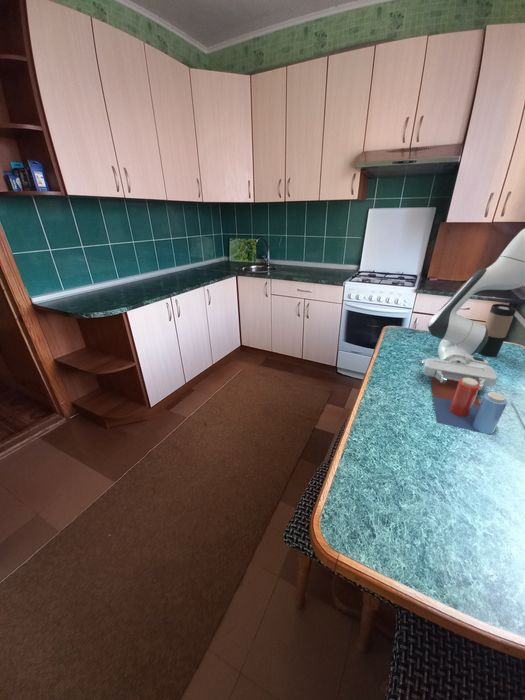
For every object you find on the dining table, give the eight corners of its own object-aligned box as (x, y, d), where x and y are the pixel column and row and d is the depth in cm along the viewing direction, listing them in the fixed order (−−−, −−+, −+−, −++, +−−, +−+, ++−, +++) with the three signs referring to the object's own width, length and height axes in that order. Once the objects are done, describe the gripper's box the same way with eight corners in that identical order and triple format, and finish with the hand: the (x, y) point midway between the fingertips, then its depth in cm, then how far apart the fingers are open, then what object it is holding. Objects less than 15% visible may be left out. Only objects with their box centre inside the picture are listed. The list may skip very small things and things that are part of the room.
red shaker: (467, 408, 88) (479, 378, 83) (470, 418, 84) (482, 387, 79) (448, 404, 89) (458, 374, 85) (450, 414, 85) (461, 383, 80)
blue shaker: (491, 424, 81) (505, 392, 76) (496, 436, 77) (511, 403, 72) (470, 419, 83) (483, 388, 78) (473, 431, 79) (487, 399, 74)
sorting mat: (472, 384, 100) (472, 383, 100) (490, 436, 78) (491, 435, 78) (429, 376, 105) (430, 375, 104) (436, 424, 83) (436, 422, 82)
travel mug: (472, 352, 120) (489, 306, 111) (479, 347, 125) (495, 302, 115) (494, 359, 115) (513, 311, 106) (500, 353, 119) (519, 307, 110)
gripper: (423, 350, 103) (425, 369, 92) (493, 361, 95) (504, 382, 84) (419, 365, 106) (421, 385, 95) (486, 377, 98) (496, 400, 87)
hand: (461, 384), depth 89 cm, fingers open, 8 cm apart
